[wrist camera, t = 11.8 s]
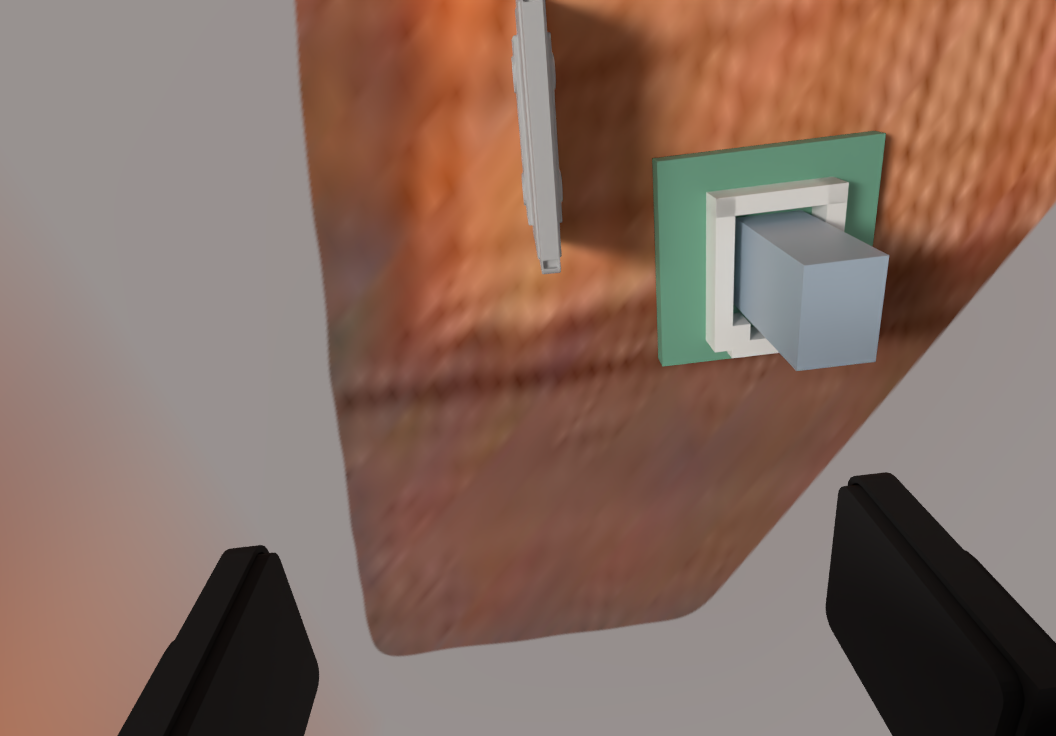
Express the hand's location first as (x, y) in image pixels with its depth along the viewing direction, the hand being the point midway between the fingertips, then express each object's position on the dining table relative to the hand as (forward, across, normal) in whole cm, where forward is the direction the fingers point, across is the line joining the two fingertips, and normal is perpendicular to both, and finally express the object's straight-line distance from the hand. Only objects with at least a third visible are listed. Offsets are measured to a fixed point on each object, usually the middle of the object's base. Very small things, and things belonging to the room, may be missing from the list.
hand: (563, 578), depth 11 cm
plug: (+27, -14, +4) cm, 31 cm away
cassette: (+29, -1, -4) cm, 29 cm away
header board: (+28, -14, +4) cm, 32 cm away
